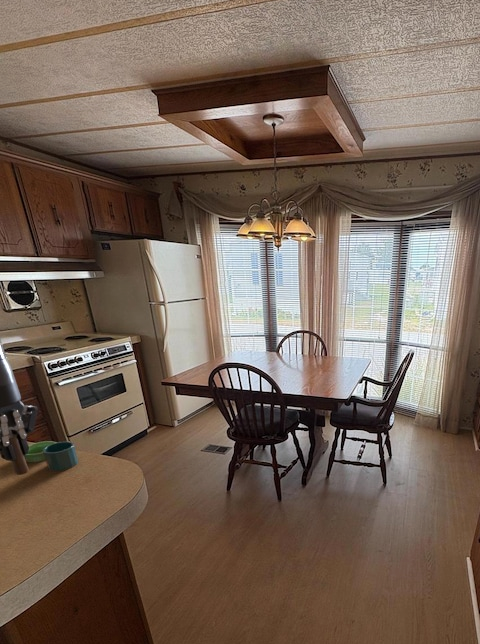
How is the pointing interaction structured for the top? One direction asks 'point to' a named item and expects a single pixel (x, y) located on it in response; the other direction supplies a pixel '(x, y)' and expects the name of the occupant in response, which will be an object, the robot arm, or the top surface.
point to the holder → (60, 456)
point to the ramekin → (37, 448)
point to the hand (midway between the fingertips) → (16, 456)
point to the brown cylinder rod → (18, 456)
